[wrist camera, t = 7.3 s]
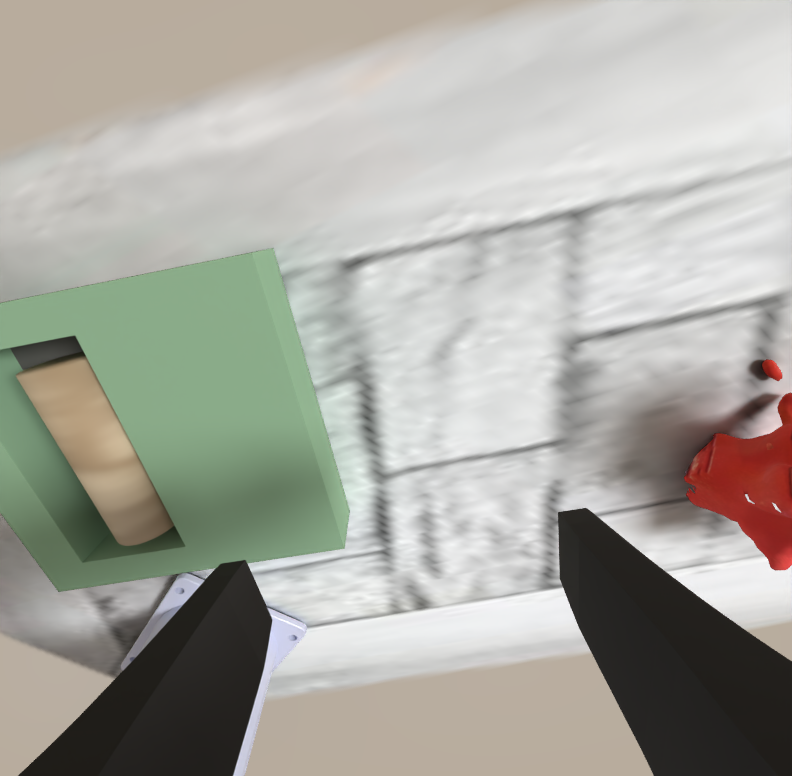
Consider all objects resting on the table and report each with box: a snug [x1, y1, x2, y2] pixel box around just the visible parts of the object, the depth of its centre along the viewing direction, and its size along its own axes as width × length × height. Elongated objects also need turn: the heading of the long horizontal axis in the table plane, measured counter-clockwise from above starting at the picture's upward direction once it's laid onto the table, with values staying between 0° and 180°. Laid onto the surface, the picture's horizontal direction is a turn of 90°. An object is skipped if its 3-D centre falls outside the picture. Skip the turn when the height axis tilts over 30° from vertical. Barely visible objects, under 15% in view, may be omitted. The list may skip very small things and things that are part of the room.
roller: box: [16, 351, 174, 546], centre depth 17 cm, size 8×3×3 cm
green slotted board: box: [0, 248, 350, 592], centre depth 17 cm, size 14×13×2 cm
